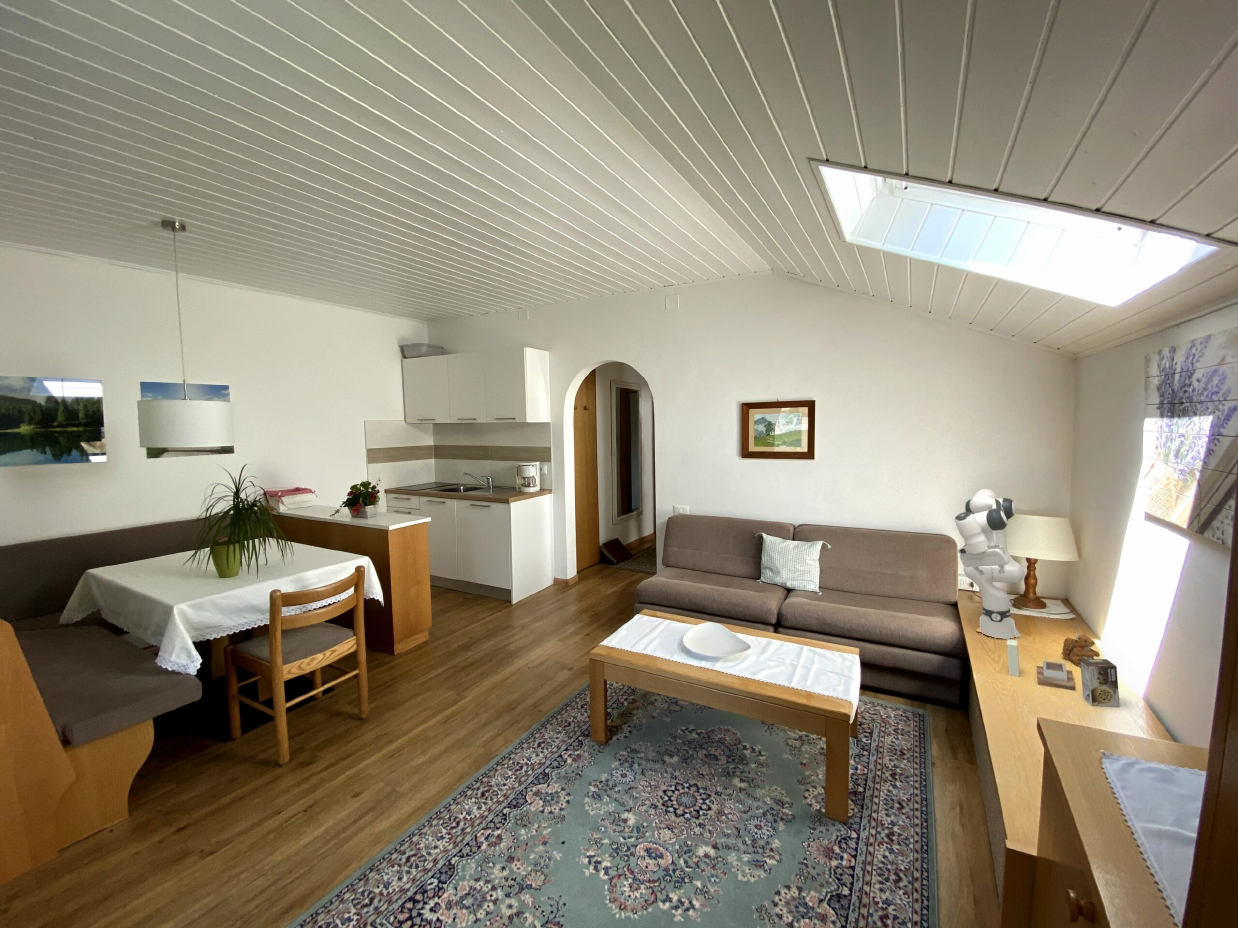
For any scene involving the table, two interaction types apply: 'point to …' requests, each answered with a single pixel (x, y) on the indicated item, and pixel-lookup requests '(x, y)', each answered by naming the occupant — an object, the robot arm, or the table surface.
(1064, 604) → the table surface
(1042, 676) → the wooden base with socket
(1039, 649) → the table surface
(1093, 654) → the stuffed squirrel
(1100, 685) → the coffee box
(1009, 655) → the pale green rectangular block
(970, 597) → the table surface
